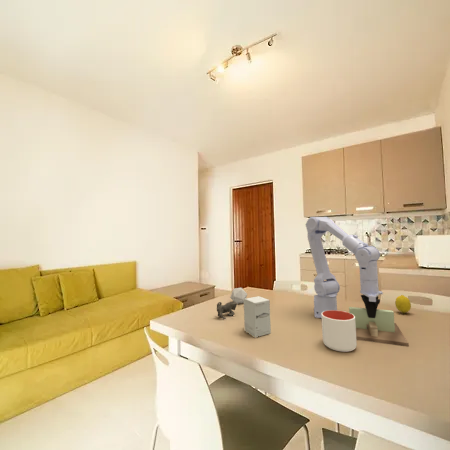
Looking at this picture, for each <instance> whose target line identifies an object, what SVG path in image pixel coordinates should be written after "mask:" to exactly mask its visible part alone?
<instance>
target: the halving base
mask: <svg viewBox="0 0 450 450" xmlns="http://www.w3.org/2000/svg"><path fill="white" fill-rule="evenodd" d="M394 324H395V332H387V331H379V330H378V328H377V326H376V323H375V322H369V324H367V329H361V328H356V340H357V341H358V340H360V341H365V342H372V343H373V342H374V343H380V344H381V343H383V344H390V345H395V346H396V345H397V346H405V347H409V346H410V344H409V341H408V340H407V339H406V337H405V335H404V334H403V333H402V331H401V329H400V328H399V325H398V324H397V323H396V322H394Z"/></svg>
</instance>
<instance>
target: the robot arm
mask: <svg viewBox="0 0 450 450" xmlns="http://www.w3.org/2000/svg"><path fill="white" fill-rule="evenodd" d="M305 227H306V232H307V241H308V245H309V248H310V252H311V256H312V259H313V263H314V266H315V271H316V274H317V275H316V276H315V277H314V279H313V283H314V286H313V288H314V292H315V293H316V294H314V295H313V312H314V314H313V315H314V318H318V319H319V318H320V319H322V317H321V313H322V312H324V311H328V310H338V302H337V301H338V300H337V296H338V293H339V292H340V290H341V285H340V283H339V281H338V280H337V278H336V276H335V275H334V274H333V273H332V272H331V271H330V268H329V263H328V261H327V259H328V258H327V256H326V253H325V249H324V245H323V243H322V237H323V236H324V235H325V234H326V233H327V232H329V233H330V234H332V235H333V236H335V237H336V238H338V240H340V241H342V246H343V247H345V248H346V249H347V250H348V251H349V252H351V253H352V254H353V255H354V257H355V260H356V261H357V263H358V264H357V265H358V266H359V281H360V282H359V283H360V290H359V292H360V297H361V300H362V302H363V304H364V308H366V311H367V315H368V317H369V318H375V316H376V311H377V309H378V306H379V305H380V303H381V299H379V295H383V294H384V292H383V291H380V289H379V276H378V273H379V272H378V261H379V259H380V257H381V253H380V251H379V249H378V248H377V247H376V246H373V245H369V244H368V242H365V241H363V240H362V239H360V238H359V236H358V234H348V233H347V232H346V231H344V230H343V229H342V228H341V227H340V226H339V225H337V223H335V222H334V220H333V219H331V218H329V216H310V217H309V218H308V219H307V220H306V223H305Z"/></svg>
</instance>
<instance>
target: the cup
mask: <svg viewBox="0 0 450 450" xmlns="http://www.w3.org/2000/svg"><path fill="white" fill-rule="evenodd" d="M321 317H322V318H321V332H322V333H321V334H322V342H323V344H324V345H325V346H326V347H327V348H329V349H330V350H333V351H337V352H341V353H342V352H343V353H345V352H347V353H348V352H351V351H354V350H355V349H356V348H357V343H358V342H357V339H356V324H355V316H354V315H353V314H351V313H349V311H345V310H338V309H337V310H328V311H324V312H322V313H321Z"/></svg>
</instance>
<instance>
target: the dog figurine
mask: <svg viewBox="0 0 450 450" xmlns="http://www.w3.org/2000/svg"><path fill="white" fill-rule="evenodd" d="M237 305H238V304H237V303H236V302H234V301H233V300H232V301H229V302H227V303H225V304H223V303H222V302H221V301H219V302H217V304H216V312H217V316H218V317H221V318H222V319H223V320H224V319H226V317H224V315H223V314H227V316H229V317H233V316H232V315H235V310H236V308H237ZM226 320H227V319H226Z"/></svg>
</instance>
